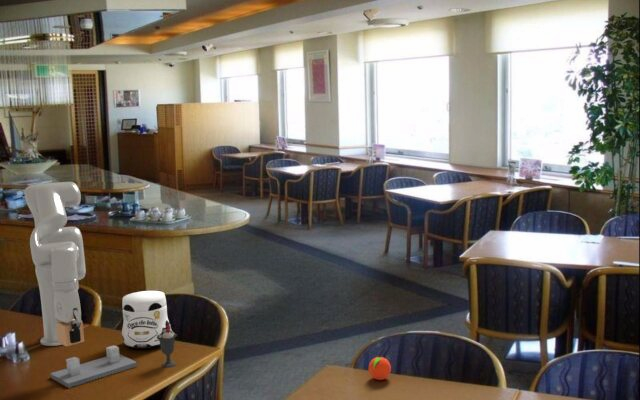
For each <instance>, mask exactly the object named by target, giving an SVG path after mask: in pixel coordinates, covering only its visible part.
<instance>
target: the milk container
mask: <svg viewBox="0 0 640 400" xmlns="http://www.w3.org/2000/svg"><path fill="white" fill-rule="evenodd" d="M121 303H122V318H123V322H122V323H123V324H122V329H121V337H122V341H123V343H124V345H126V347H128V348H132V349H141V350H142V349H143V350H144V349H151V348H157V347H159V346H160V341H159V339H157V335H159V334H161V333H162V328H165V327H167V326H170V328H171V329H172V327H171V323H170V320H169V318H168V307H167V298H166V295H165V292H163V291H158V290H142V291H137V292H132V293H128V294H125V295H124V296H123V297H122V302H121ZM169 323H170V324H169ZM168 324H169V325H168Z"/></svg>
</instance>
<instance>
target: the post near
mask: <svg viewBox="0 0 640 400" xmlns="http://www.w3.org/2000/svg"><path fill="white" fill-rule="evenodd" d="M65 361H66V362H65V363H66V369H67V374H68V375H70V376H74V375H78V374H81V373H80V364H81V363H80V358H79V357H76V356H73V357H69V358H66V359H65Z"/></svg>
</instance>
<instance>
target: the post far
mask: <svg viewBox="0 0 640 400" xmlns="http://www.w3.org/2000/svg"><path fill="white" fill-rule="evenodd" d="M105 349H106V357H107V362H109V363H111V364H113V363H117V362H120V357H119V354H120V347H118V346H117V345H114V344H113V345H110V346H107V347H106V348H105Z"/></svg>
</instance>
